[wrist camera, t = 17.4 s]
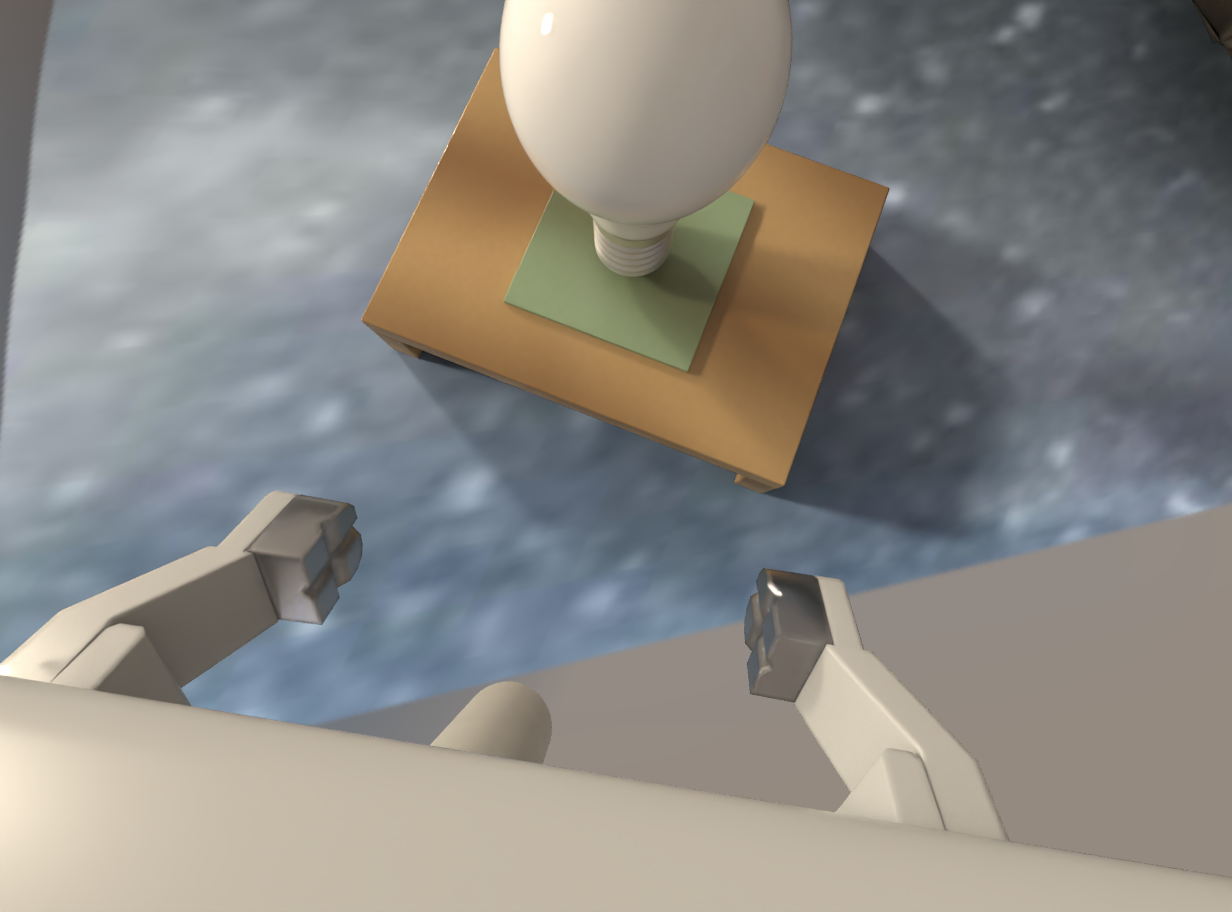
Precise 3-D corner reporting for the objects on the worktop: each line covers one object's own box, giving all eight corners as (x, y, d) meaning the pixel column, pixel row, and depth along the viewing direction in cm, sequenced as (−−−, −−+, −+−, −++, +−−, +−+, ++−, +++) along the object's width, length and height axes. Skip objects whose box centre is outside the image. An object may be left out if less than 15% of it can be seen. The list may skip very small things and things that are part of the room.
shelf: (762, 494, 22) (786, 485, 19) (392, 349, 23) (357, 317, 20) (856, 231, 24) (892, 184, 21) (509, 105, 25) (494, 41, 22)
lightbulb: (753, 227, 21) (909, -128, 10) (659, 368, 20) (716, 152, 9) (606, 140, 21) (600, -288, 10) (509, 274, 20) (389, -38, 9)
